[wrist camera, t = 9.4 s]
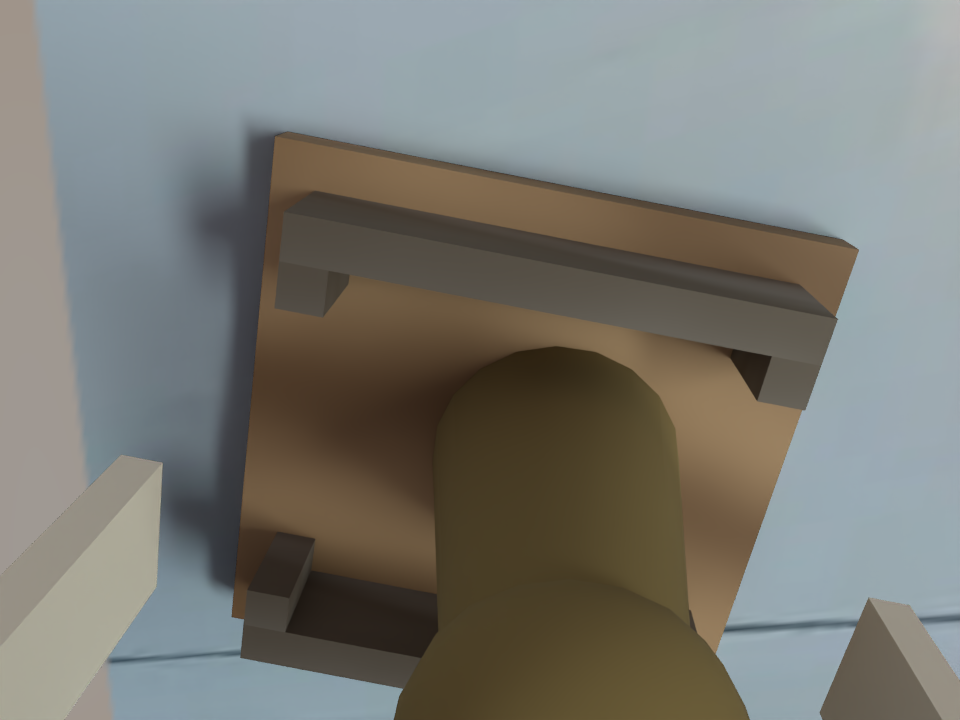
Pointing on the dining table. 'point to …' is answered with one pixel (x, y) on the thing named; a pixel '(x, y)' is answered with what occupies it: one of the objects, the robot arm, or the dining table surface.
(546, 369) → the cork
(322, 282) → the socket
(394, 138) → the dining table surface
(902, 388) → the dining table surface
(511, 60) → the dining table surface
